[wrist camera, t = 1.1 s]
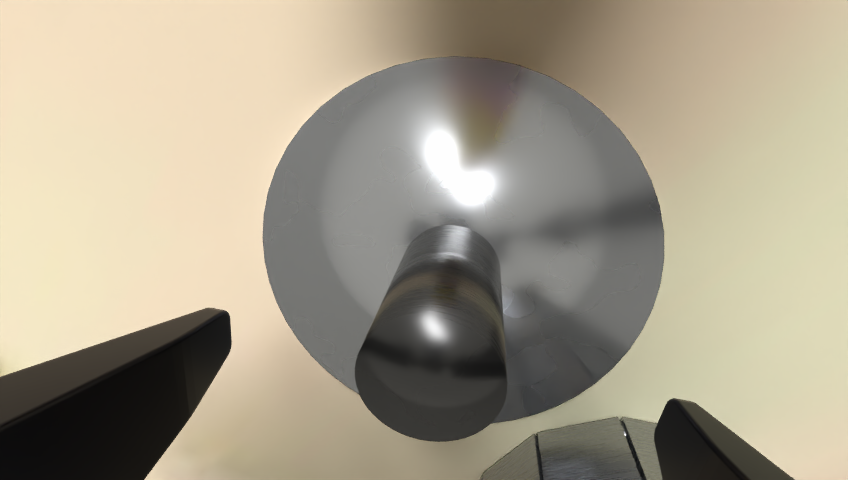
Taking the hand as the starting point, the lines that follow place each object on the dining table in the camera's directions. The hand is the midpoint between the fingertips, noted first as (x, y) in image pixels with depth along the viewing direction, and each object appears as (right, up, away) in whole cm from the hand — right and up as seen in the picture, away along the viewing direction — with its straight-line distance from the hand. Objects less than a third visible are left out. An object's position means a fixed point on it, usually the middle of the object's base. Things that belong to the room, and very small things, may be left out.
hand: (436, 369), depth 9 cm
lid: (+1, +2, +5) cm, 5 cm away
